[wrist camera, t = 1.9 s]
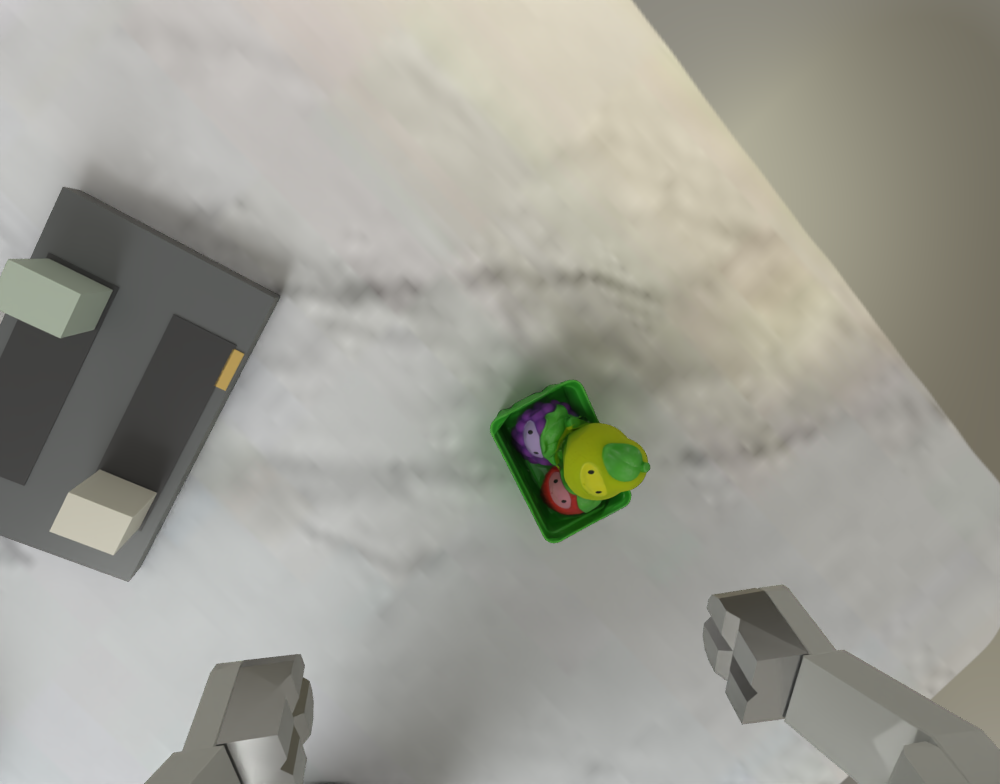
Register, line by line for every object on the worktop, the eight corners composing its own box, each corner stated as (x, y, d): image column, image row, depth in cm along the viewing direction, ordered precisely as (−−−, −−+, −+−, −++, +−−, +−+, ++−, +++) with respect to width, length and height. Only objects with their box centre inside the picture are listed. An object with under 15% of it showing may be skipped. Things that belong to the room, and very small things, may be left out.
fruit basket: (475, 406, 46) (499, 453, 35) (572, 356, 47) (625, 387, 36) (534, 518, 50) (572, 593, 39) (624, 470, 50) (687, 531, 39)
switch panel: (140, 567, 45) (127, 582, 43) (-60, 493, 41) (-83, 506, 39) (280, 296, 42) (274, 298, 40) (79, 190, 38) (62, 186, 36)
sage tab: (94, 329, 38) (60, 338, 34) (29, 299, 37) (-13, 305, 33) (113, 290, 38) (80, 294, 34) (48, 258, 37) (8, 259, 33)
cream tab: (139, 527, 42) (113, 555, 38) (82, 505, 41) (49, 531, 37) (157, 492, 41) (132, 517, 37) (99, 469, 40) (68, 492, 36)
